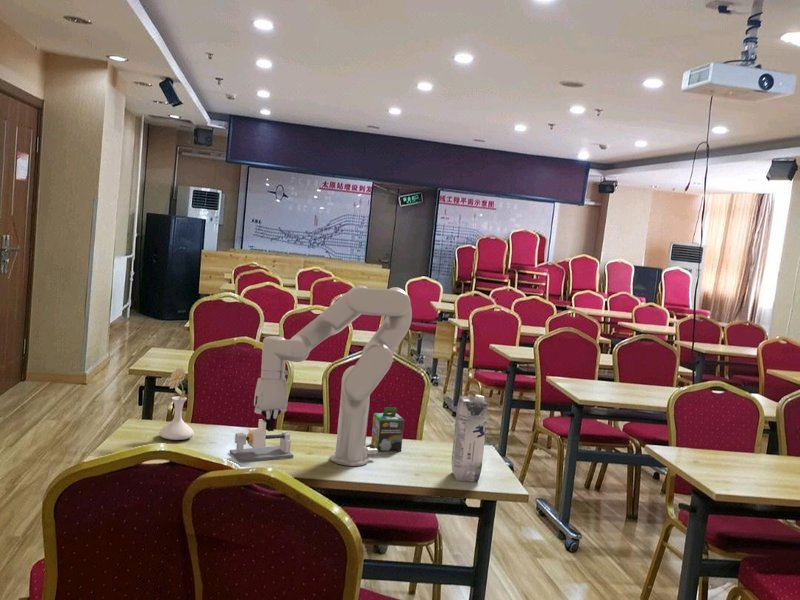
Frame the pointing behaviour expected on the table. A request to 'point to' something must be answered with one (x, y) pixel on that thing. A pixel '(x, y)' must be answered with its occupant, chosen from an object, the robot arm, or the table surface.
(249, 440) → the lead screw with knob
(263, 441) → the cream tall block
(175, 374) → the flower in vase
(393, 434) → the chalk box
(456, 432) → the juice carton
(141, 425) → the table surface
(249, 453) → the mini bench vise
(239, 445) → the connector
